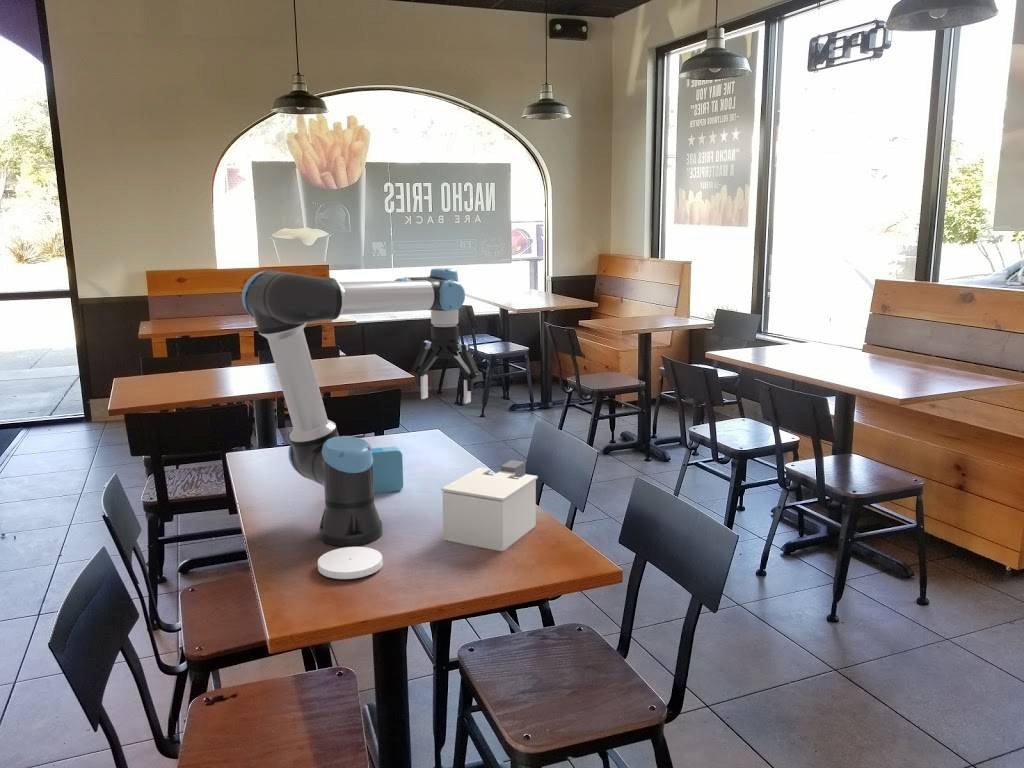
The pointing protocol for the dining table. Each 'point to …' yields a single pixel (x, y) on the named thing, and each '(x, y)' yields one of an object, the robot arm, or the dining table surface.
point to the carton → (489, 518)
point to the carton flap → (492, 482)
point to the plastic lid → (350, 562)
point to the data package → (387, 469)
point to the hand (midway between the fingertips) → (445, 400)
